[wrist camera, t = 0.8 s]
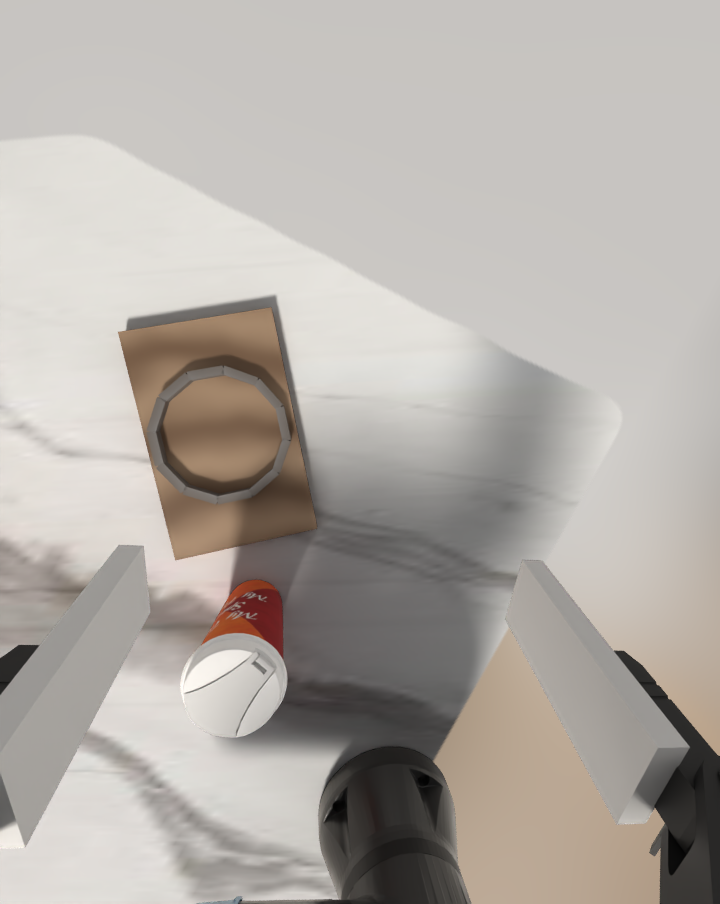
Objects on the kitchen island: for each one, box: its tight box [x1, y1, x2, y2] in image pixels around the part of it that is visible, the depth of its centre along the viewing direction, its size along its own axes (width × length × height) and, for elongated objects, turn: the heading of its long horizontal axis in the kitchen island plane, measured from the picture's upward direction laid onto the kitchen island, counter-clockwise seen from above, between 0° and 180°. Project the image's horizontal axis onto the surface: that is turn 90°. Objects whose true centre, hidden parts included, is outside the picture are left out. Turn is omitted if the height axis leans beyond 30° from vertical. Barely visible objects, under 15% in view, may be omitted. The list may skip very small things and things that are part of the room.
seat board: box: [118, 307, 317, 560], centre depth 40 cm, size 22×14×3 cm, turn 11°
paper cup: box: [180, 580, 287, 738], centre depth 36 cm, size 8×8×14 cm
